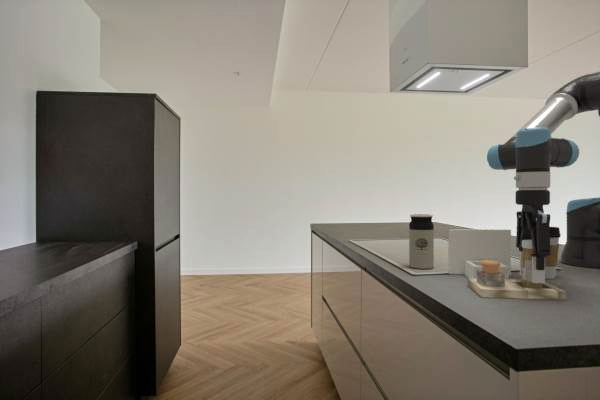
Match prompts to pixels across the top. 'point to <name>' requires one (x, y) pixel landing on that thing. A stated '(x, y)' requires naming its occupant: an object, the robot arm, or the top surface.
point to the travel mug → (421, 241)
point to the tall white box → (478, 250)
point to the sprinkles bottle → (528, 265)
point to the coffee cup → (552, 253)
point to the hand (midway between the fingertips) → (531, 279)
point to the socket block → (511, 288)
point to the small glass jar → (490, 266)
